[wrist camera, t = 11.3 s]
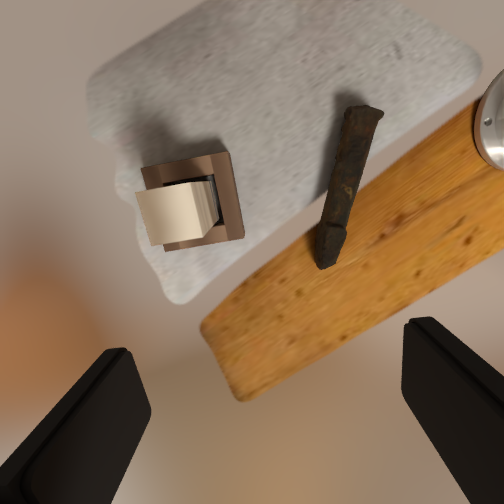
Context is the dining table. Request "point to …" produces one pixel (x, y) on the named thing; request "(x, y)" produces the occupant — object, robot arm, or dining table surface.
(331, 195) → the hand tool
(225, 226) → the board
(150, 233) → the peg
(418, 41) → the dining table surface
